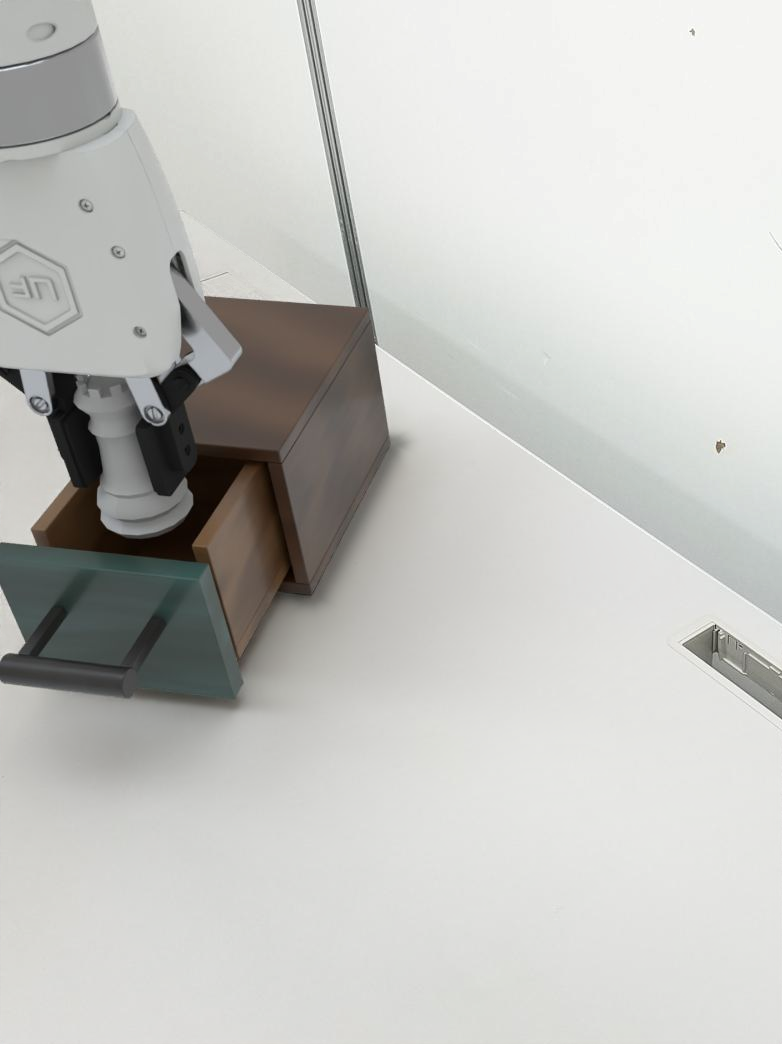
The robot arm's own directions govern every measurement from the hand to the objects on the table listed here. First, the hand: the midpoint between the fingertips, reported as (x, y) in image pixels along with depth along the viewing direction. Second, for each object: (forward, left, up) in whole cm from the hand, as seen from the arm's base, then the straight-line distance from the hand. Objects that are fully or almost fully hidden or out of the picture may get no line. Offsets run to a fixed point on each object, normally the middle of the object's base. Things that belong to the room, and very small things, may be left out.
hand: (135, 472), depth 61 cm
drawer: (0, -1, -9) cm, 9 cm away
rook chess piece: (0, 0, -3) cm, 3 cm away
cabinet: (0, +11, -10) cm, 15 cm away
